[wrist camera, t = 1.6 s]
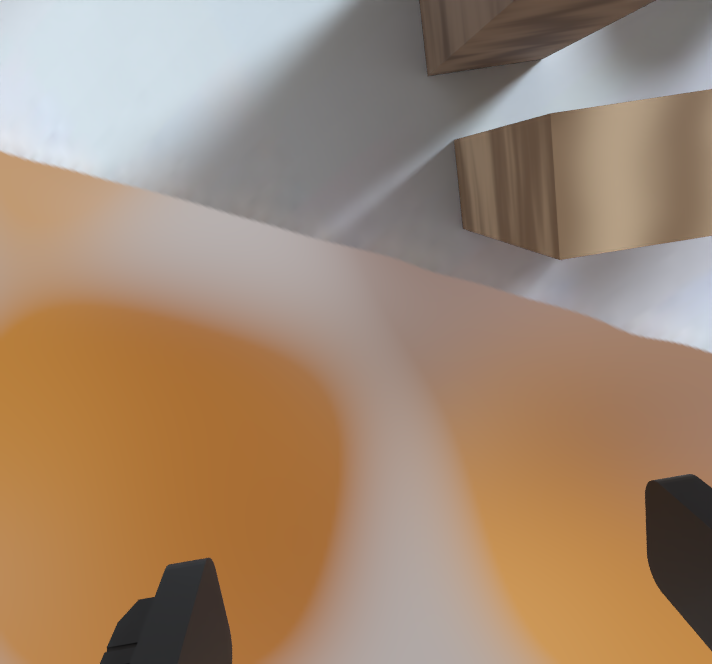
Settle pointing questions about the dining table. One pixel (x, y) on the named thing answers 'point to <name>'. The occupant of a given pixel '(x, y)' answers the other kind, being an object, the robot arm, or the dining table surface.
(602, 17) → the pedestal
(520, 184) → the step
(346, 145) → the dining table surface
